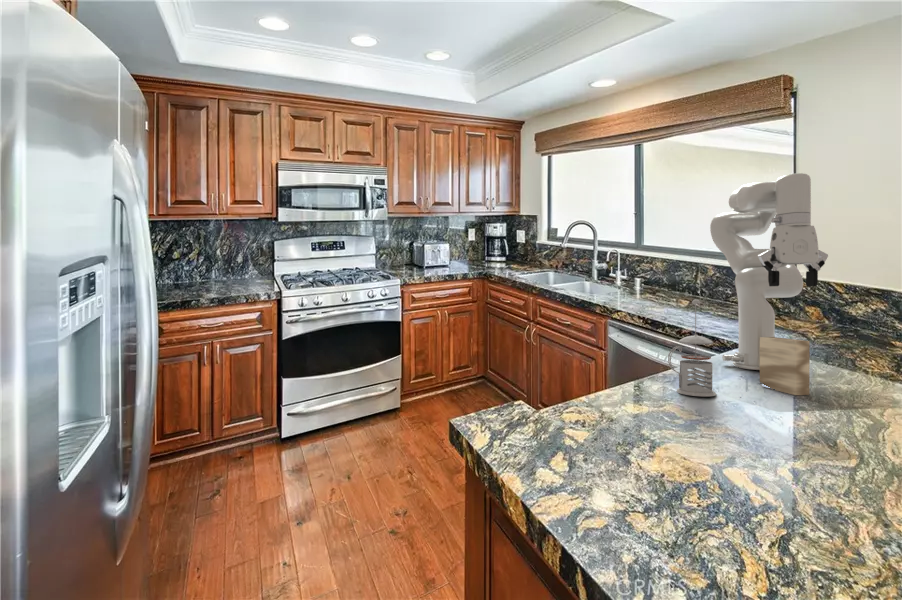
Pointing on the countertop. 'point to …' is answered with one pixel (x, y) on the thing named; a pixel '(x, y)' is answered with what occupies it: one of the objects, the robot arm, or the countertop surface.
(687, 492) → the countertop surface
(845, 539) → the countertop surface
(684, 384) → the french press
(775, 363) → the maple block
